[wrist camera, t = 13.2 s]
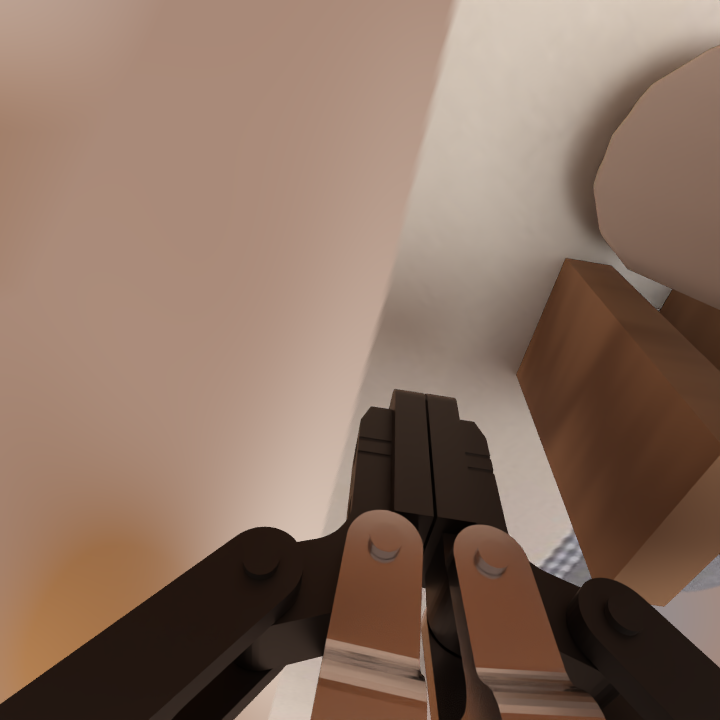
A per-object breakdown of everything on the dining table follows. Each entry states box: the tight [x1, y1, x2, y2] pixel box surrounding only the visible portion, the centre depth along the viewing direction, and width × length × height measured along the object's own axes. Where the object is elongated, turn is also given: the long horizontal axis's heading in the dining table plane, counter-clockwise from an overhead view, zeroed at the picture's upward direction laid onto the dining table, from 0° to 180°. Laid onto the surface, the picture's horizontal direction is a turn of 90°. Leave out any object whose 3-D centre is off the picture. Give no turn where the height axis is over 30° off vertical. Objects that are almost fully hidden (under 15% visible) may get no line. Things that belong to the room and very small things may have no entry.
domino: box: [516, 258, 720, 607], centre depth 13 cm, size 5×2×9 cm, turn 172°
